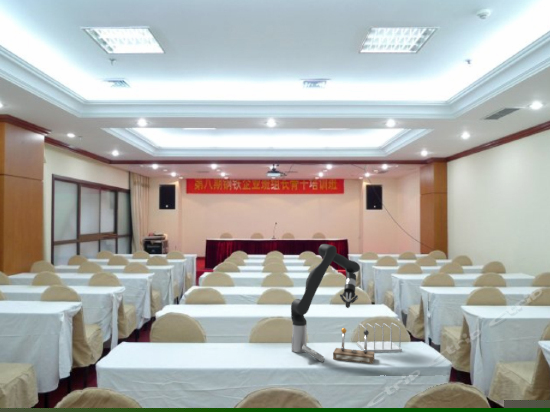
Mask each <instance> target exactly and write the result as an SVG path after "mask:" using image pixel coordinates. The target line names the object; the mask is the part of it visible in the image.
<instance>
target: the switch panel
mask: <svg viewBox="0 0 550 412" xmlns="http://www.w3.org/2000/svg"><path fill="white" fill-rule="evenodd" d="M341 348H342V347H341ZM341 348H339V347H336V348H335V349H334V350H333V352H332V359H333V360H336V361H337V360H338V361H346V362H355V363H365V364H371V365H372V364H374V361H375V352H370V351H367V353H364V351H363V350H362V349H361V350H360V349H359V350H357V349H350V348H344V351H342V350H341Z"/></svg>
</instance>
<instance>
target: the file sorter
mask: <svg viewBox="0 0 550 412" xmlns="http://www.w3.org/2000/svg"><path fill="white" fill-rule="evenodd" d="M384 325H385V326H386V327H388V328H389V329H390V334H389V335H390V337H389V338H390V339H389V341H385V339H384V337H385V335H384ZM368 326H369V327H371V328H372V329H373V332H374V335H373V341H367V351H370V352H374V353H399V352H400V353H401V352H403V350H402V348H401V337H402V335H401V328H400V326H399V325H397V324H396V323H394V322H391V323H390V326H389V325H388V324H386V323H382V326H381V325H380V324H378V323H376V322H375V323H374V326H373V325H371V324H370V323H366V324H365V326H364V325H363V324H362V323H359V324H358V327H362V328H363V329H364V331H365V330H368ZM376 326H378V327H380V328H381V330H382V334H381V336H382V338H381V339H382V340H381V341H376ZM392 326H395V327H397V328H398V329H399V344H398V345H397V344H396V343H394V342H393V329H392ZM357 339H358V341H357V342H356V345H357V346H358V347H359V348H360V349H361V351H364V342H365V341H360V328H358V335H357Z"/></svg>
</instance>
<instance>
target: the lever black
mask: <svg viewBox="0 0 550 412" xmlns="http://www.w3.org/2000/svg"><path fill="white" fill-rule="evenodd" d="M369 333H370V332H369V330H368V329H367V330H365V329H364V330H363V335H364V341H363V342H364V353H367V342H368V335H369Z"/></svg>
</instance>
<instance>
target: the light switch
mask: <svg viewBox="0 0 550 412" xmlns="http://www.w3.org/2000/svg"><path fill="white" fill-rule="evenodd" d="M302 350H303V351H305V352H304V353H306V354H308V355H310V356H311V357H312V358H314V359H316V360H318V361H320V362H321V363H323V362H324V360H325V359H324V356H323V355H322V354H321V353H319V352H318V351H316V350H315V349H312V348H311V347H309V346H306V345H304V344H303V346H302Z"/></svg>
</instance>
